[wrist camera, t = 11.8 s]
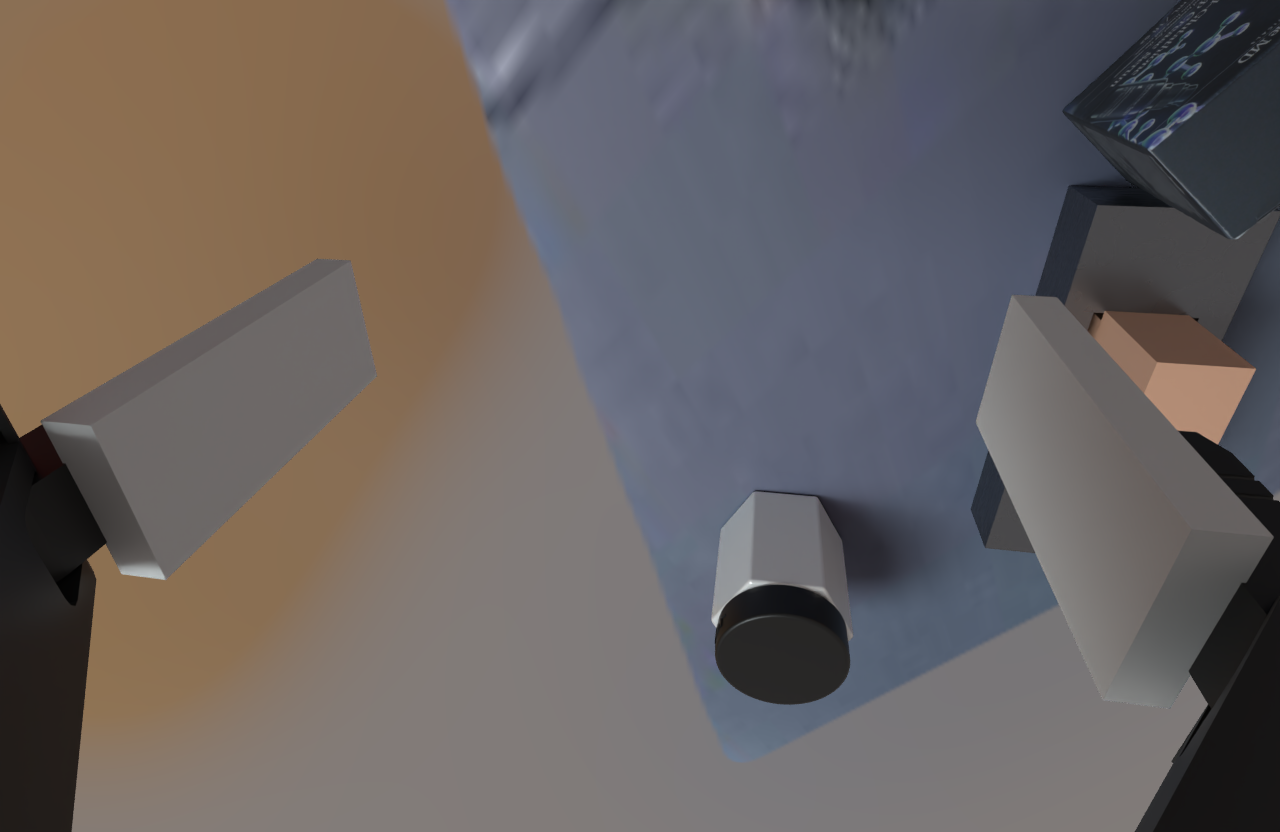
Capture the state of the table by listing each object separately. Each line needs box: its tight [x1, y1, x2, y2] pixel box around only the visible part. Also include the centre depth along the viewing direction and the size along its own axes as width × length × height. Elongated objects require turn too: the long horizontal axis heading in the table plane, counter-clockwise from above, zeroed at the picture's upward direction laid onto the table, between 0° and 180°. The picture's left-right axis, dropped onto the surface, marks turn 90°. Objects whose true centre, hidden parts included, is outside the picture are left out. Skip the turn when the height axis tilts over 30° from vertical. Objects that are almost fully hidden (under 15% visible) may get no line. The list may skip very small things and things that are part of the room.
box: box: [1063, 0, 1280, 239], centre depth 30 cm, size 8×6×11 cm
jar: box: [711, 491, 853, 705], centre depth 48 cm, size 9×8×12 cm
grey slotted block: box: [971, 186, 1280, 553], centre depth 41 cm, size 22×8×4 cm, turn 0°
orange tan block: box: [1087, 311, 1256, 445], centre depth 38 cm, size 11×4×10 cm, turn 0°
